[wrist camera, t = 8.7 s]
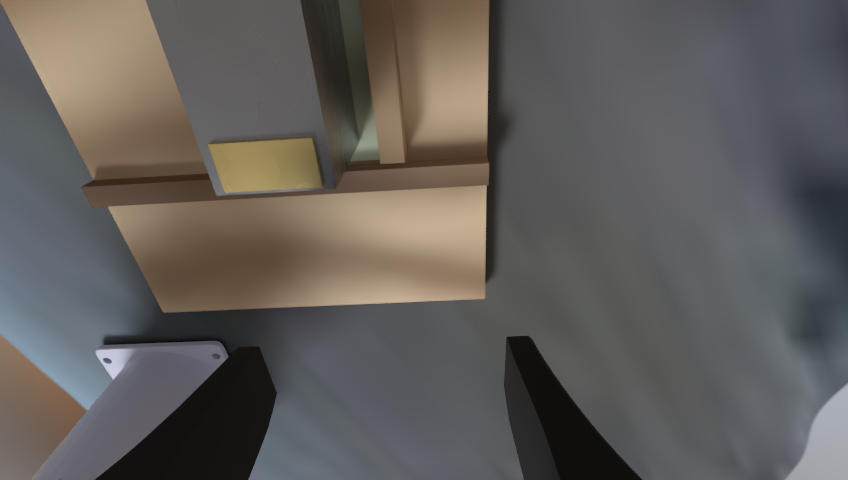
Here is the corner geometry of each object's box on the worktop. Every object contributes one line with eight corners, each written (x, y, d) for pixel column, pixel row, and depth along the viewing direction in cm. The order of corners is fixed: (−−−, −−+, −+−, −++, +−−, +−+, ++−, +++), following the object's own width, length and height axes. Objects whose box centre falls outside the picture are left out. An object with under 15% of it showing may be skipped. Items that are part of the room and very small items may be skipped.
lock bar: (210, -68, 14) (105, -99, 9) (326, -79, 14) (276, -115, 9) (268, 147, 18) (214, 197, 13) (359, 141, 17) (335, 190, 13)
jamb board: (482, 287, 23) (488, 317, 21) (172, 301, 24) (147, 331, 21) (487, -142, 13) (498, -168, 11) (-24, -94, 14) (-105, -111, 12)
